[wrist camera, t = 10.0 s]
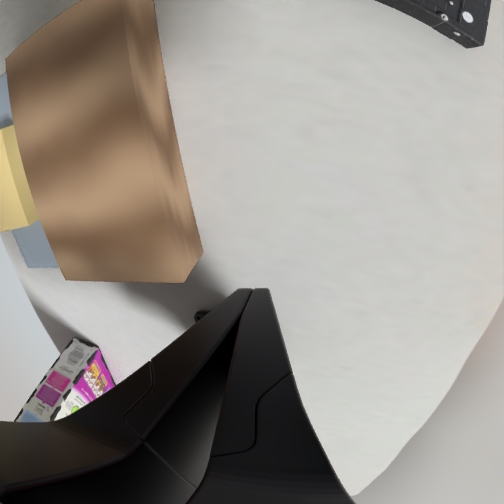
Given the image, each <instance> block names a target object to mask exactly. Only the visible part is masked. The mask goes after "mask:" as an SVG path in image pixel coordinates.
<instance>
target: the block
mask: <svg viewBox="0 0 504 504" xmlns="http://www.w3.org/2000/svg"><path fill="white" fill-rule="evenodd" d="M38 219H40V218H39V216H38V213H37V210H36V207H35V204H34V201H33V198H32V195H31V192H30V188H29V185H28V182H27V178H26V175H25V171H24V168H23V164H22V160H21V156H20V152H19V148H18V143H17V139H16V134H15V129H14V125H11V126H8V127H5V128H2V129H0V232H3V231H8V230H12V229H17V228H21V227H26V226H30V225H31V224H33V223H34V222H35V221H37V220H38Z"/></svg>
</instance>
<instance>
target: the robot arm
mask: <svg viewBox="0 0 504 504" xmlns="http://www.w3.org/2000/svg"><path fill="white" fill-rule="evenodd" d="M200 317H201V318H200ZM194 319H195V321H196V324H194V325H193V326H192V327H191V328H189V329H188V330H187V331H186V332H185V333H183V334H182V335H181V336H180V337H178V338H177V339H176V340H175V341H173V342H172V343H171V344H170V345H168V346H167V347H166V348H165V349H163V350H162V351H161V352H160V353H158V354H157V355H156V356H155V357H153V358H152V359H151V361H148V362H147V363H146V364H144V365H143V366H142V367H141V368H139V369H138V370H137V371H135V372H134V373H133V374H131V375H130V376H129V377H127V378H126V379H125V380H123V381H122V382H120V383H119V384H117V385H116V386H114V387H113V388H111V389H110V390H108V391H107V392H105V393H104V394H102V395H101V396H99V397H97V398H96V399H94V400H93V401H91V402H89V403H88V404H86V405H85V406H83V407H81V408H80V409H78V410H76V411H75V412H73V413H72V414H70V415H68V416H66V417H64V418H61V419H58V420H55V421H49V422H7V421H0V504H356V503H355V502H354V501H353V499H352V498H351V497H350V495H349V494H348V493H347V491H346V490H345V488H344V487H343V485H342V483H341V482H340V480H339V478H338V477H337V475H336V473H335V471H334V469H333V467H332V465H331V463H330V461H329V459H328V457H327V455H326V453H325V451H324V449H323V447H322V445H321V443H320V441H319V439H318V437H317V435H316V433H315V431H314V429H313V427H312V425H311V422H310V420H309V418H308V415H307V413H306V411H305V409H304V406H303V403H302V400H301V397H300V394H299V391H298V388H297V385H296V381H295V378H294V375H293V371H292V368H291V364H290V361H289V357H288V354H287V350H286V347H285V343H284V339H283V336H282V332H281V329H280V325H279V322H278V318H277V315H276V311H275V308H274V304H273V301H272V297H271V294H270V291H269V289H268V288H256V289H254V290H253V289H252V288H240V289H237V290H236V291H235V292H234V293H232V294H231V295H230V296H229V297H227V298H226V299H225V300H224V301H223V302H221V303H220V304H219V305H218V306H217V307H215V308H214V309H213V310H212V311H210V312H204V311H198V312H196V314H195V316H194Z"/></svg>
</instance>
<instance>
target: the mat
mask: <svg viewBox="0 0 504 504" xmlns="http://www.w3.org/2000/svg"><path fill="white" fill-rule="evenodd" d="M11 125H14V124H13V118H12V113H11V106H10V99H9V92H8V83H7V73H5V74H4V75H3V76H2V77H1V78H0V129H2V128H5V127H8V126H11ZM12 232H13V234H14V237H15V239H16V242H17V244H18V246H19V249H20V251H21V253H22V256H23V258H24V260H25V262H26V264H27V267H28V268H60V267H59V265H58V263H57V261H56V258H55V256H54V254H53V251H52V249H51V247H50V244H49V242H48V239H47V237H46V234H45V232H44V229H43V226H42V224H41V221H40V219H38V220H37V221H35V222H34V223H33V224H31V225H30V226H26V227H21V228H17V229H12Z"/></svg>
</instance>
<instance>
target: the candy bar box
mask: <svg viewBox="0 0 504 504" xmlns="http://www.w3.org/2000/svg"><path fill="white" fill-rule="evenodd" d="M114 386H116V384H115V382H114V380H113V378H112V376H111V374H110V372H109V370H108V367H107V365H106V363H105V361H104V359H103V356H102V354H101V352H100V350H99V348H98V347H96V346H93V345H91V344H89V343H86V342H85V341H82V340H80V339H77V338H73V339H72V340H71V341H70V343H69V344H68V345H67V347H66V348H65V349H64V351H63V352H62V353H61V355H60V356H59V357H58V359H57V360H56V361H55V363H54V364H53V366H52V367H51V368H50V369H49V371H48V372H47V373H46V375H45V376H44V378H43V380H42V381H41V382H40V384H39V385H38V386H37V387H36V389H35V390H34V392H33V393H32V395H31V396H30V398H29V399H28V401H27V402H26V404H25V405H24V406H23V408H22V409H21V411H20V413H19V414H18V416H17V417H16V419H15V420H14V422H49V421H55V420H58V419H61V418H64V417H66V416H68V415H70V414H72V413H73V412H75V411H76V410H78V409H80V408H81V407H83V406H85V405H86V404H88V403H89V402H91V401H93V400H94V399H96V398H97V397H99V396H101V395H102V394H104V393H105V392H107V391H108V390H110V389H111V388H113V387H114Z"/></svg>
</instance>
